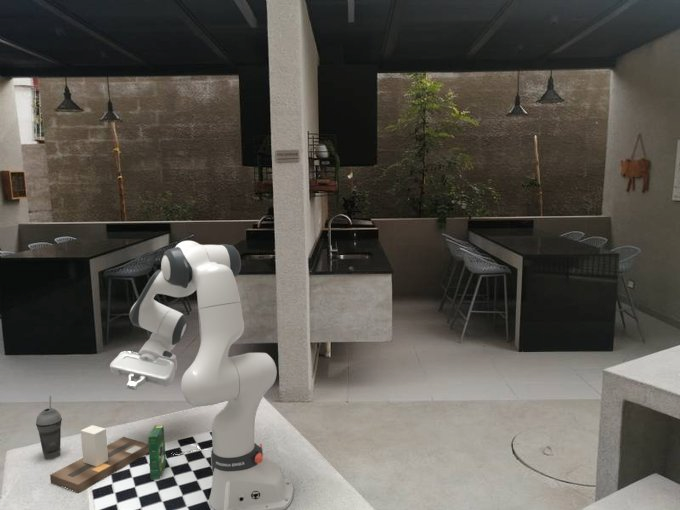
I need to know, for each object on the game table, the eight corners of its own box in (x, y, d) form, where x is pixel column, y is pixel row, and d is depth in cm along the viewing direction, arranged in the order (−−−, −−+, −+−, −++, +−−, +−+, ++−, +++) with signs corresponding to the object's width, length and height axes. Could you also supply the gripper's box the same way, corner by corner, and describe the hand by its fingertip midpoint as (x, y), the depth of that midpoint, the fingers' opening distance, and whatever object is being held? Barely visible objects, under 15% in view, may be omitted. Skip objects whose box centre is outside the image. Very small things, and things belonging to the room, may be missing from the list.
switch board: (124, 443, 177) (123, 436, 176) (150, 451, 171) (150, 443, 171) (50, 482, 154) (50, 474, 153) (78, 493, 148) (77, 484, 148)
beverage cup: (47, 450, 173) (42, 391, 171) (69, 450, 173) (64, 391, 170) (34, 461, 166) (28, 400, 164) (56, 461, 166) (51, 400, 163)
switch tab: (94, 456, 163) (92, 425, 162) (108, 460, 160) (105, 428, 159) (83, 462, 160) (80, 430, 158) (96, 466, 157) (94, 434, 156)
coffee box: (157, 465, 162) (154, 424, 161) (166, 465, 162) (164, 424, 161) (149, 480, 154) (146, 436, 153) (160, 479, 154) (157, 436, 153)
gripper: (121, 342, 176) (97, 373, 164) (180, 356, 174) (160, 388, 162) (124, 356, 179) (101, 387, 168) (181, 369, 177) (162, 401, 166)
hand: (130, 388), depth 165 cm, fingers closed
